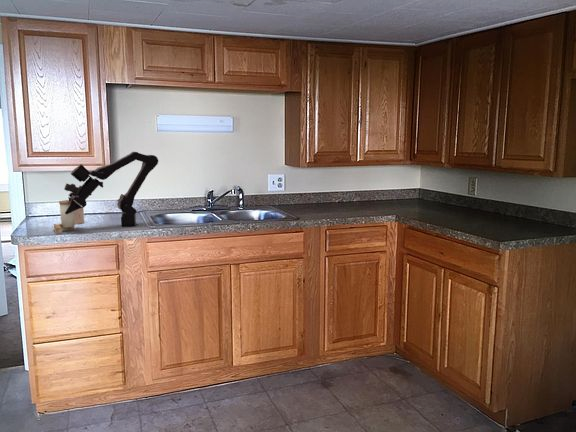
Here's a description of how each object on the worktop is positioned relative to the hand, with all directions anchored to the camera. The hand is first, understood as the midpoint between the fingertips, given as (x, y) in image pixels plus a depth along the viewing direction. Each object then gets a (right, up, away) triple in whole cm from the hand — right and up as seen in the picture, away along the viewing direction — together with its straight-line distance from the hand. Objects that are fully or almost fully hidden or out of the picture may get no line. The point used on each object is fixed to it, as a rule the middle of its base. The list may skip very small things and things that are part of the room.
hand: (64, 212), depth 241 cm
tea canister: (+1, -6, +1) cm, 7 cm away
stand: (0, -9, +1) cm, 9 cm away
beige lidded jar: (-5, -6, +22) cm, 24 cm away
